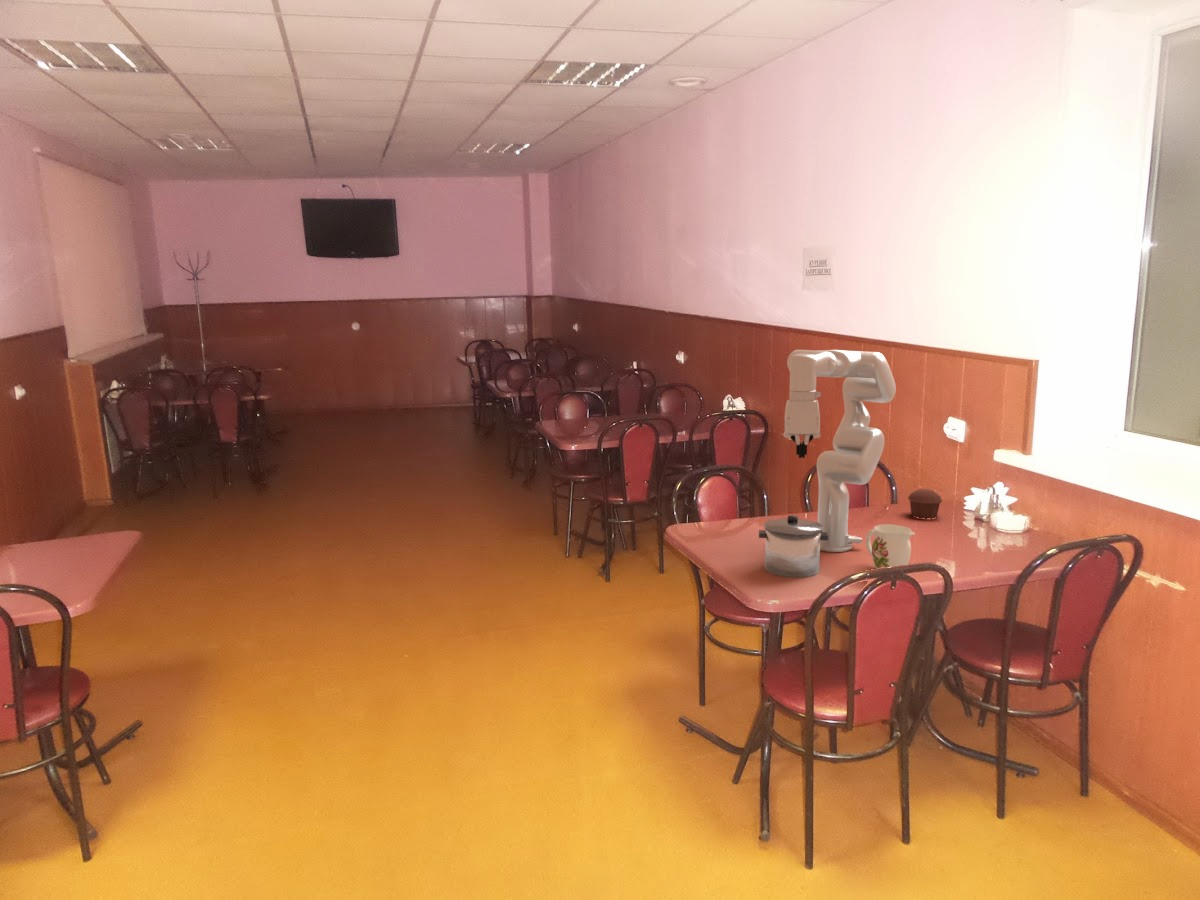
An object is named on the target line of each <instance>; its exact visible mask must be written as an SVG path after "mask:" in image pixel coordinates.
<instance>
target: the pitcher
mask: <svg viewBox="0 0 1200 900" xmlns="http://www.w3.org/2000/svg"><path fill="white" fill-rule="evenodd" d="M915 534H916V533H915V532H914V531H912V529H911V528H910V527H907V526H903V525H898V524H887V523H886V524H879V525H875V526H874V528H873V529H870V530H868V532H867V533H866V536H865V547H866V550H867V552H868V553H869V555H870V556H871V557H872V561H873V565H874V566H875V569H877V568H881V567H890V566H899V565H907V564H908V565H909V563H910V560H911V556H912V555H911V553H912V545H911V541H910V537H912V536H914V535H915ZM872 535H874V538H873V541H872V544H871V538H872ZM908 565H907V566H908Z"/></svg>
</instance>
